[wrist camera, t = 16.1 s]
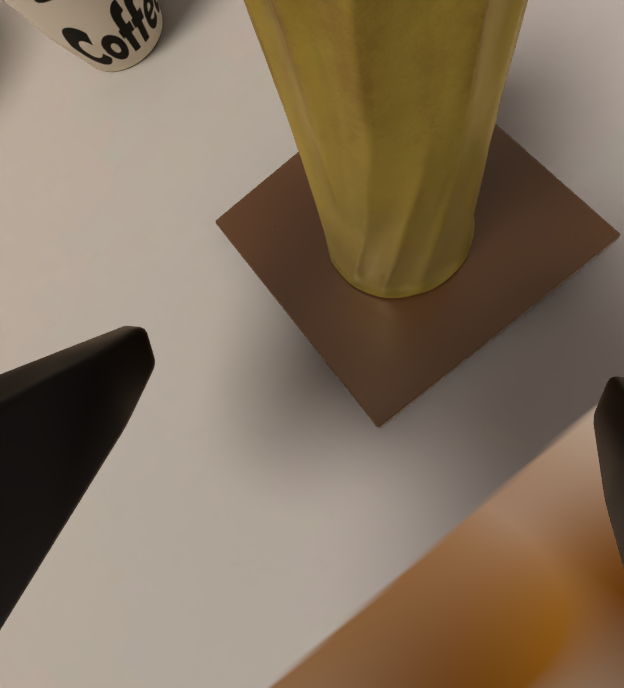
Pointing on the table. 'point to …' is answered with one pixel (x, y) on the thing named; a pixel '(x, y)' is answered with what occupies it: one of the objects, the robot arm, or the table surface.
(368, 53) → the vase
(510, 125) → the table surface
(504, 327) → the serving board
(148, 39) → the cup
